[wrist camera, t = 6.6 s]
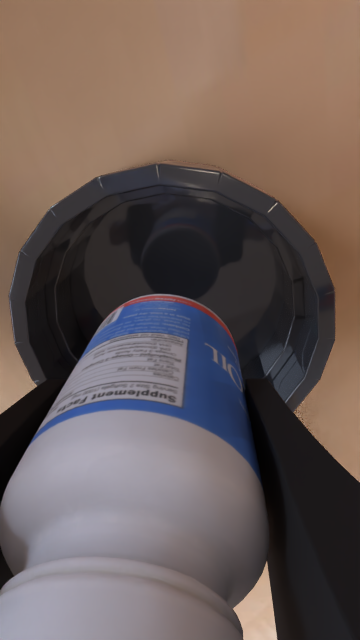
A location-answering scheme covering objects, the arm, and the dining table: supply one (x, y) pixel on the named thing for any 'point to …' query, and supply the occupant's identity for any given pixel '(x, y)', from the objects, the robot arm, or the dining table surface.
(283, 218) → the black shallow round container
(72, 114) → the dining table surface
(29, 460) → the pill bottle
